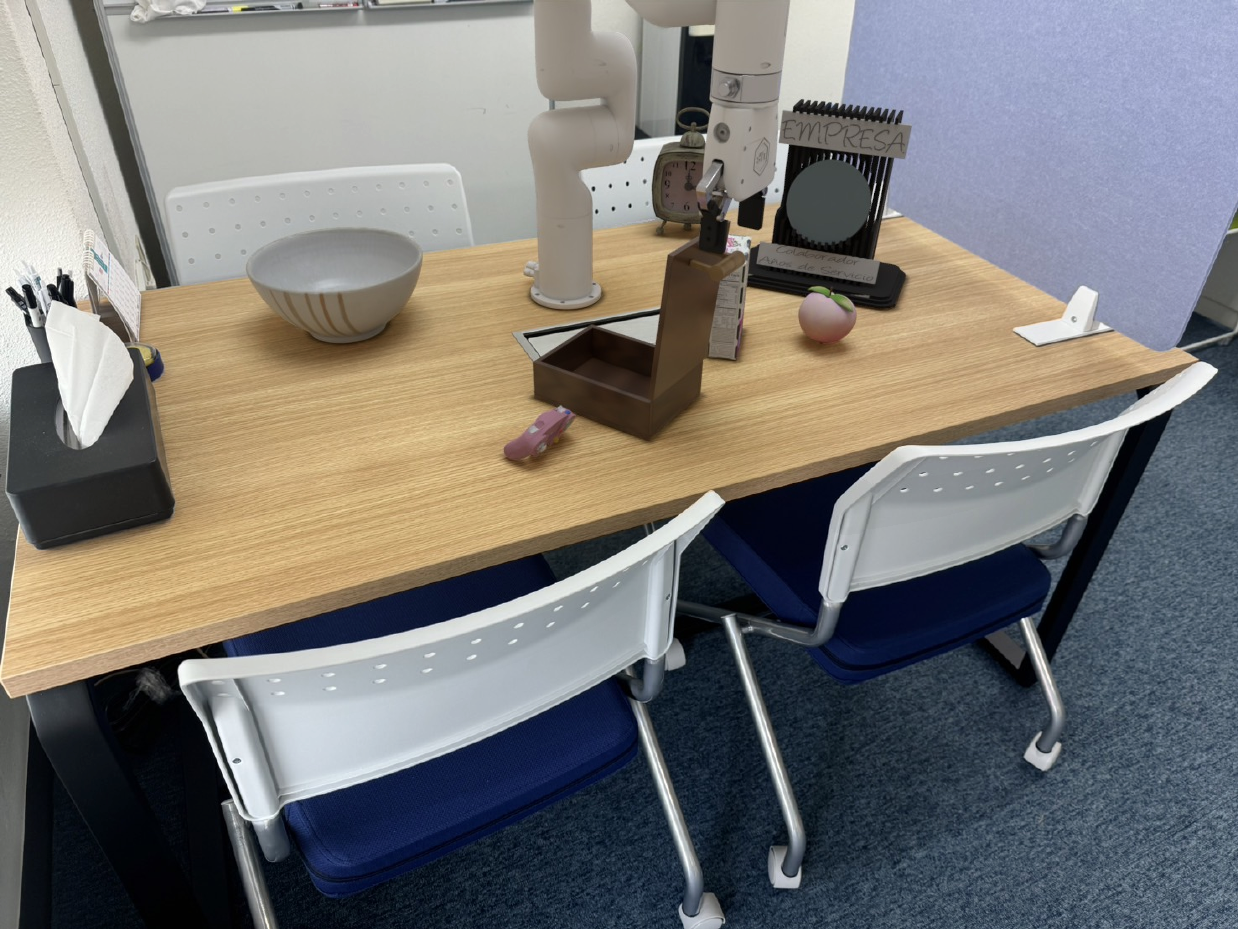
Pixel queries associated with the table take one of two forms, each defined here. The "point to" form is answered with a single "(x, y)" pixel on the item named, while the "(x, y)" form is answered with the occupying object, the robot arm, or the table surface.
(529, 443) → the video game controller
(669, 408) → the chest
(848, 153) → the award
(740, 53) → the robot arm
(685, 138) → the tabletop clock
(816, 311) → the decorative fruit
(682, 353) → the chest lid
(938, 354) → the table surface
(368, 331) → the decorative bowl
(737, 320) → the candy bar box
